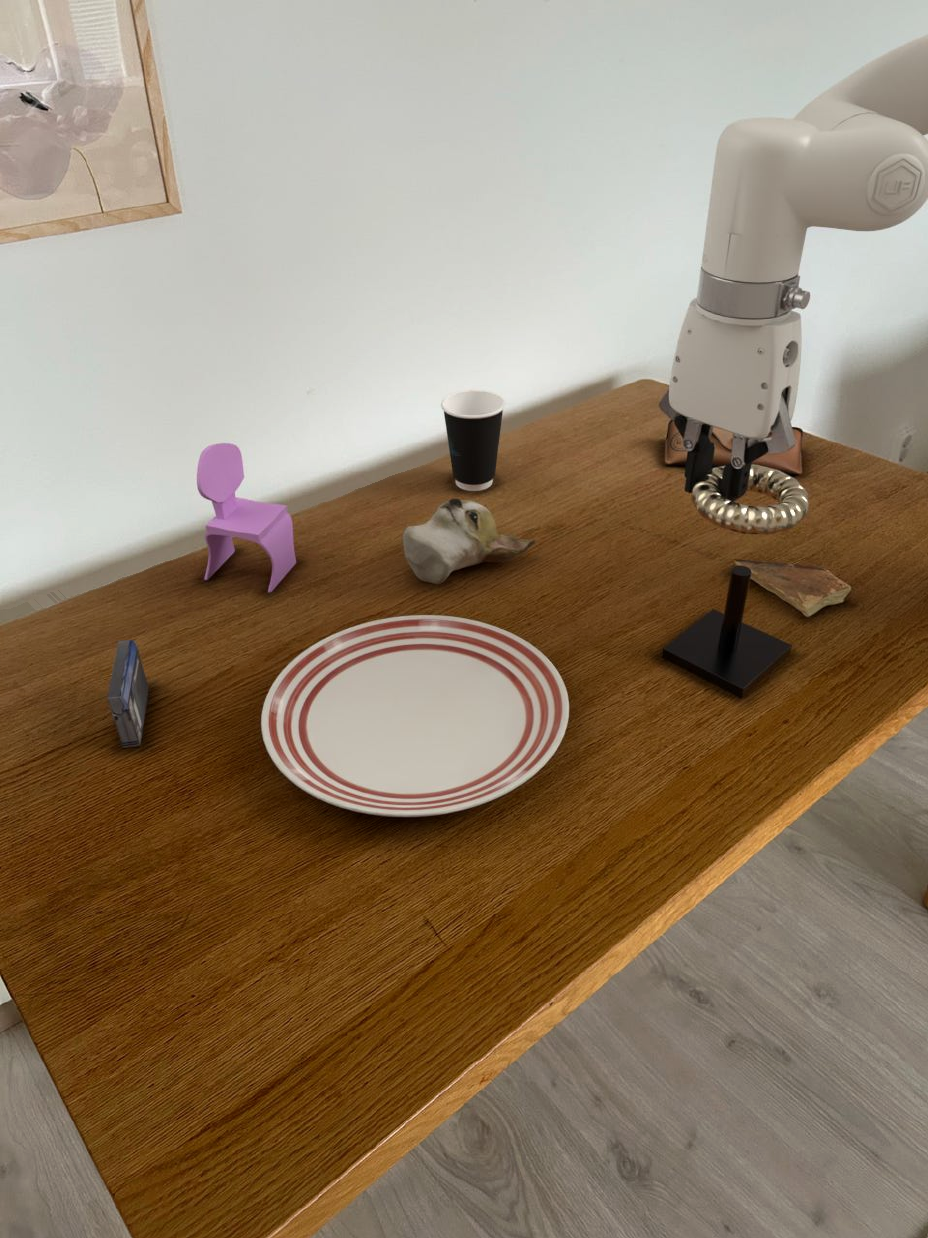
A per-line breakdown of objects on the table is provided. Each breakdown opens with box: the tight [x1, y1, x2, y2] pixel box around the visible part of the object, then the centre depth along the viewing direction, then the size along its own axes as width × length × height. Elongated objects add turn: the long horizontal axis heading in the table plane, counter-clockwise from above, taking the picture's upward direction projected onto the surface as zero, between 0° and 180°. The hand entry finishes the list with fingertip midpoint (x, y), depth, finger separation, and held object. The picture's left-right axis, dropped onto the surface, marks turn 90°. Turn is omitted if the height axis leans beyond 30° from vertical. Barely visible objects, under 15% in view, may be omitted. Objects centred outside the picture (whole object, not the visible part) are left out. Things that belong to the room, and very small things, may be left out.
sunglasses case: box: [664, 419, 804, 475], centre depth 130 cm, size 18×7×7 cm
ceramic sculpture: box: [402, 498, 536, 585], centre depth 109 cm, size 11×9×15 cm
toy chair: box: [196, 442, 297, 593], centre depth 106 cm, size 8×9×15 cm
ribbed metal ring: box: [690, 465, 810, 536], centre depth 87 cm, size 10×10×2 cm
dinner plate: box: [260, 614, 570, 818], centre depth 89 cm, size 28×27×3 cm
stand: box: [661, 565, 793, 699], centre depth 94 cm, size 9×9×10 cm
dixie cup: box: [440, 389, 507, 492], centre depth 123 cm, size 8×8×11 cm
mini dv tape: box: [107, 639, 150, 749], centre depth 89 cm, size 8×2×6 cm, turn 9°
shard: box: [733, 558, 852, 618], centre depth 106 cm, size 11×8×2 cm
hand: (713, 492), depth 89 cm, fingers closed on ribbed metal ring, 2 cm apart
